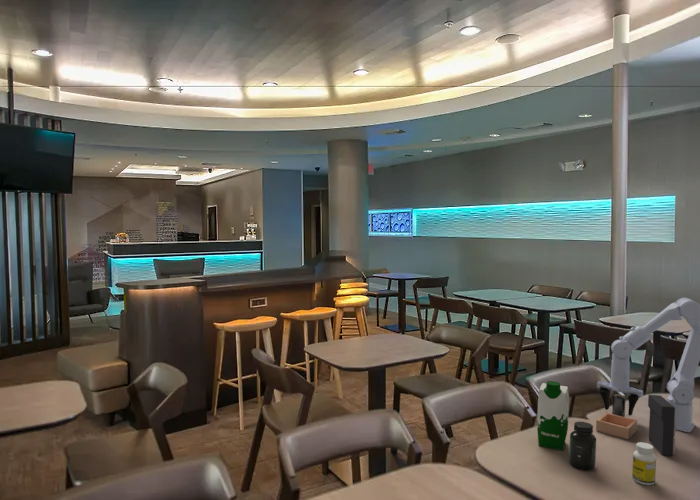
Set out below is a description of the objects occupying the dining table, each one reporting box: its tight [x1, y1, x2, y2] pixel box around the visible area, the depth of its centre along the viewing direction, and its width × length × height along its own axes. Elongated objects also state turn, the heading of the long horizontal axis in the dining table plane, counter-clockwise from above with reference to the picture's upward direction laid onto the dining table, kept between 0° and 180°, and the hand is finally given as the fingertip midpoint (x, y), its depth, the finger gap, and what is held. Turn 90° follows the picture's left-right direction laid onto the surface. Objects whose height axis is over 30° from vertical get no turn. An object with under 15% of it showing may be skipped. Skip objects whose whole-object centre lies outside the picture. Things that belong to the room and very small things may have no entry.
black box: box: [647, 394, 676, 457], centre depth 158 cm, size 11×4×15 cm, turn 168°
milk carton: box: [536, 381, 570, 451], centre depth 160 cm, size 9×9×20 cm
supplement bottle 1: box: [568, 421, 597, 472], centre depth 146 cm, size 7×7×12 cm
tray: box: [595, 412, 638, 440], centre depth 171 cm, size 10×10×4 cm
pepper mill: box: [611, 393, 627, 417], centre depth 182 cm, size 4×4×9 cm
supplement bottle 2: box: [631, 441, 657, 486], centre depth 138 cm, size 5×5×10 cm
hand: (618, 411), depth 182 cm, fingers open, 7 cm apart
